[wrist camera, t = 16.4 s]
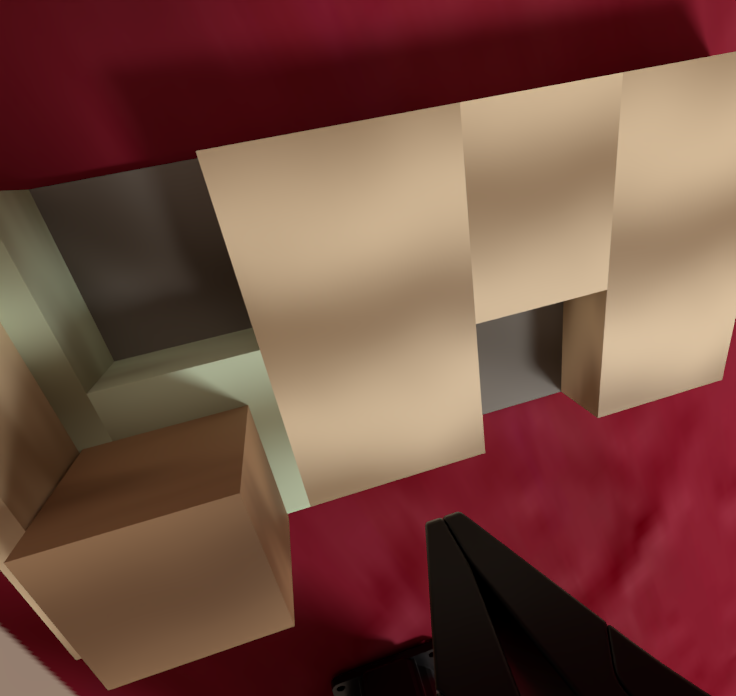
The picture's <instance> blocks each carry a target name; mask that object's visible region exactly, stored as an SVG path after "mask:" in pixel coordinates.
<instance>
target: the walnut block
mask: <svg viewBox="0 0 736 696" xmlns="http://www.w3.org/2000/svg"><path fill="white" fill-rule="evenodd" d="M4 564H5V565H6V567H7V568H8V569H9V570H10V572H11V573H12V574H13V575H14V576H15V578H16V579H17V580H18V581H19V583H20V584H21V585H22V586H23V587H24V589H25V590H26V591H27V592H28V593H29V595H30V596H31V597H32V598H33V600H34V601H35V602H36V603H37V604H38V606H39V607H40V608H41V609H42V611H43V612H44V613H45V614H46V615H47V617H48V618H49V619H50V620H51V622H52V623H53V624H54V625H55V626H56V628H57V629H58V630H59V631H60V632H61V634H62V635H63V636H64V637H65V639H66V640H67V641H68V642H69V643H70V645H71V646H72V647H73V648H74V650H75V651H76V652H77V653H78V654H79V656H80V657H81V658H82V659H83V660H84V662H85V663H86V664H87V665H88V667H89V668H90V669H91V670H92V671H93V673H94V674H95V675H96V676H97V678H98V679H99V680H100V681H101V682H102V684H103V685H104V686H105V687H106V689H107V690H111V689H114V688H117V687H120V686H123V685H126V684H128V683H131V682H134V681H137V680H140V679H143V678H146V677H149V676H152V675H155V674H157V673H160V672H163V671H166V670H169V669H172V668H175V667H178V666H181V665H183V664H186V663H189V662H192V661H195V660H198V659H201V658H204V657H207V656H210V655H212V654H215V653H218V652H221V651H224V650H227V649H230V648H233V647H236V646H238V645H241V644H244V643H247V642H250V641H253V640H256V639H259V638H262V637H265V636H267V635H270V634H273V633H276V632H279V631H282V630H285V629H288V628H291V627H294V626H295V621H294V603H293V585H292V567H291V550H290V532H289V517H288V515H287V512H286V509H285V506H284V503H283V501H282V498H281V495H280V492H279V490H278V487H277V484H276V481H275V478H274V476H273V473H272V470H271V467H270V464H269V462H268V459H267V456H266V453H265V450H264V448H263V445H262V442H261V439H260V437H259V434H258V431H257V428H256V425H255V423H254V420H253V417H252V414H251V411H250V409H249V406H248V405H246V406H243V407H239V408H235V409H231V410H228V411H224V412H220V413H217V414H213V415H209V416H205V417H202V418H198V419H194V420H190V421H187V422H183V423H179V424H176V425H172V426H168V427H164V428H161V429H157V430H153V431H149V432H146V433H142V434H138V435H135V436H131V437H127V438H123V439H120V440H116V441H112V442H108V443H105V444H101V445H97V446H94V447H90V448H86V449H83V450H82V451H81V452H80V454H79V455H78V457H77V458H76V460H75V461H74V462H73V464H72V465H71V467H70V468H69V470H68V471H67V473H66V474H65V475H64V477H63V478H62V480H61V481H60V483H59V484H58V485H57V487H56V488H55V490H54V491H53V493H52V494H51V496H50V497H49V498H48V500H47V501H46V503H45V504H44V506H43V507H42V509H41V510H40V511H39V513H38V514H37V516H36V517H35V519H34V520H33V521H32V523H31V524H30V526H29V527H28V529H27V530H26V532H25V533H24V534H23V536H22V537H21V539H20V540H19V542H18V543H17V544H16V546H15V547H14V549H13V550H12V552H11V553H10V555H9V556H8V557H7V559H6V560H5V562H4Z"/></svg>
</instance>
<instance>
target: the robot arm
mask: <svg viewBox="0 0 736 696" xmlns="http://www.w3.org/2000/svg"><path fill="white" fill-rule="evenodd" d="M425 529H426V545H427V562H428V578H429V594H430V610H431V627H432V642H429V643H426V644H423V645H421V646H418V647H415V648H412V649H410V650H407V651H404V652H401V653H399V654H396V655H393V656H391V657H388V658H385V659H382V660H380V661H377V662H374V663H372V664H369V665H366V666H363V667H361V668H358V669H355V670H353V671H350V672H347V673H344V674H342V675H339V676H337V677H335V678H334V679H333V680H332V681H331V684H332V692H333V695H334V696H711V695H709V694H708V693H706V692H705V691H703V690H702V689H700V688H699V687H697V686H695V685H694V684H692V683H691V682H689V681H688V680H686V679H685V678H683V677H682V676H680V675H679V674H677V673H676V672H674V671H673V670H671V669H670V668H668V667H667V666H665V665H664V664H662V663H661V662H660V661H658V660H657V659H655V658H654V657H653V656H651V655H650V654H649V653H647V652H646V651H644V650H643V649H642V648H640V647H639V646H637V645H636V644H635V643H633V642H632V641H631V640H629V639H628V638H627V637H625V636H624V635H623V634H621V633H620V632H619V631H617V630H616V629H615V628H614V627H612V626H611V625H608V626H607V624H606V622H605V621H604V620H603V619H601V618H600V617H599V616H597V615H596V614H595V613H593V612H592V611H591V610H590V609H588V608H587V607H586V606H584V605H583V604H582V603H580V602H579V601H578V600H576V599H575V598H574V597H572V596H571V595H570V594H568V593H567V592H566V591H564V590H563V589H562V588H560V587H559V586H558V585H557V584H555V583H554V582H553V581H551V580H550V579H549V578H547V577H546V576H545V575H543V574H542V573H541V572H539V571H538V570H537V569H535V568H534V567H533V566H531V565H530V564H529V563H527V562H526V561H525V560H524V559H522V558H521V557H520V556H518V555H517V554H516V553H514V552H513V551H512V550H510V549H509V548H508V547H506V546H505V545H504V544H502V543H501V542H500V541H498V540H497V539H496V538H494V537H493V536H492V535H491V534H489V533H488V532H487V531H485V530H484V529H483V528H481V527H480V526H479V525H477V524H476V523H475V522H473V521H472V520H471V519H469V518H468V517H467V516H465V515H464V514H463V513H461V512H455V513H452V514H449V515H446V516H444V518H443V519H442V518H438V519H435V520H432V521H429V522H427V523H426V525H425Z"/></svg>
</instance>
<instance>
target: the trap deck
mask: <svg viewBox="0 0 736 696" xmlns="http://www.w3.org/2000/svg"><path fill="white" fill-rule="evenodd" d="M196 154H197V157H198V158H196V159H191V160H185V161H180V162H174V163H169V164H164V165H158V166H153V167H148V168H142V169H137V170H132V171H126V172H121V173H116V174H110V175H105V176H99V177H94V178H89V179H83V180H78V181H73V182H67V183H62V184H57V185H51V186H46V187H40V188H35V189H30V190H8V191H0V570H1V571H2V573H3V574H4V575H5V576H6V577H7V578H8V580H9V581H10V582H11V583H12V584H13V586H14V587H15V588H16V589H17V590H18V592H19V593H20V594H21V595H22V596H23V598H24V599H25V600H26V601H27V602H28V604H29V605H30V606H31V607H32V608H33V610H34V611H35V612H36V613H37V614H38V616H39V617H40V618H41V619H42V620H43V621H44V623H45V624H46V625H47V626H48V627H49V629H50V630H51V631H52V632H53V633H54V635H55V636H56V637H57V638H58V639H59V641H60V642H61V643H62V644H63V645H64V647H65V648H66V649H67V650H68V651H69V653H70V654H71V655H72V656H73V657H74V659H75V660H78V659H81V657H80V656H79V654H78V653H77V652H76V651H75V650H74V648H73V647H72V646H71V645H70V643H69V642H68V641H67V640H66V639H65V637H64V636H63V635H62V634H61V632H60V631H59V630H58V629H57V628H56V626H55V625H54V624H53V623H52V622H51V620H50V619H49V618H48V617H47V615H46V614H45V613H44V612H43V611H42V609H41V608H40V607H39V606H38V604H37V603H36V602H35V601H34V600H33V598H32V597H31V596H30V595H29V593H28V592H27V591H26V590H25V589H24V587H23V586H22V585H21V584H20V583H19V581H18V580H17V579H16V578H15V576H14V575H13V574H12V573H11V572H10V570H9V569H8V568H7V567H6V565H5V564H4V562H5V560H6V559H7V557H8V556H9V555H10V553H11V552H12V550H13V549H14V547H15V546H16V544H17V543H18V542H19V540H20V539H21V537H22V536H23V534H24V533H25V532H26V530H27V529H28V527H29V526H30V524H31V523H32V521H33V520H34V519H35V517H36V516H37V514H38V513H39V511H40V510H41V509H42V507H43V506H44V504H45V503H46V501H47V500H48V498H49V497H50V496H51V494H52V493H53V491H54V490H55V488H56V487H57V485H58V484H59V483H60V481H61V480H62V478H63V477H64V475H65V474H66V473H67V471H68V470H69V468H70V467H71V465H72V464H73V462H74V461H75V460H76V458H77V457H78V455H79V454H80V452H81V451H82V450H83V449H86V448H90V447H94V446H97V445H101V444H105V443H108V442H112V441H116V440H120V439H123V438H127V437H131V436H135V435H138V434H142V433H146V432H149V431H153V430H157V429H161V428H164V427H168V426H172V425H176V424H179V423H183V422H187V421H190V420H194V419H198V418H202V417H205V416H209V415H213V414H217V413H220V412H224V411H228V410H231V409H235V408H239V407H243V406H246V405H248V406H249V409H250V411H251V414H252V417H253V420H254V423H255V425H256V428H257V431H258V434H259V437H260V439H261V442H262V445H263V448H264V450H265V453H266V456H267V459H268V462H269V464H270V467H271V470H272V473H273V476H274V478H275V481H276V484H277V487H278V490H279V492H280V495H281V498H282V501H283V503H284V506H285V509H286V512H287V514H288V513H292V512H295V511H298V510H301V509H305V508H308V507H311V506H314V505H317V504H321V503H324V502H327V501H330V500H334V499H337V498H340V497H343V496H347V495H350V494H353V493H356V492H360V491H363V490H366V489H369V488H373V487H376V486H379V485H382V484H386V483H389V482H392V481H395V480H398V479H402V478H405V477H408V476H411V475H415V474H418V473H421V472H424V471H428V470H431V469H434V468H437V467H441V466H444V465H447V464H450V463H454V462H457V461H460V460H463V459H466V458H470V457H473V456H476V455H479V454H483V453H485V445H484V431H483V417H482V415H483V414H486V413H490V412H493V411H496V410H500V409H503V408H506V407H510V406H513V405H517V404H520V403H523V402H527V401H530V400H534V399H537V398H540V397H544V396H547V395H551V394H554V393H557V392H563V393H564V394H565V395H567V396H568V397H570V398H571V399H572V400H574V401H575V402H576V403H578V404H579V405H581V406H582V407H583V408H585V409H586V410H588V411H589V412H590V413H592V414H593V415H594V416H596V417H597V418H599V417H603V416H606V415H609V414H612V413H615V412H619V411H622V410H625V409H628V408H632V407H635V406H638V405H641V404H645V403H648V402H651V401H654V400H658V399H661V398H664V397H667V396H671V395H674V394H677V393H680V392H684V391H687V390H690V389H693V388H696V387H700V386H703V385H706V384H709V383H713V382H716V381H719V380H722V377H723V372H724V368H725V363H726V359H727V354H728V349H729V345H730V340H731V336H732V331H733V327H734V322H735V317H736V52H731V53H725V54H720V55H715V56H709V57H704V58H698V59H693V60H687V61H682V62H677V63H671V64H666V65H660V66H655V67H649V68H644V69H639V70H633V71H628V72H622V73H617V74H611V75H606V76H601V77H595V78H590V79H584V80H579V81H573V82H568V83H563V84H557V85H552V86H546V87H541V88H535V89H530V90H525V91H519V92H514V93H508V94H503V95H497V96H492V97H487V98H481V99H476V100H470V101H465V102H459V103H454V104H449V105H443V106H438V107H432V108H427V109H421V110H416V111H411V112H405V113H400V114H394V115H389V116H383V117H378V118H373V119H367V120H362V121H356V122H351V123H345V124H340V125H335V126H329V127H324V128H318V129H313V130H307V131H302V132H297V133H291V134H286V135H280V136H275V137H269V138H264V139H259V140H253V141H248V142H242V143H237V144H231V145H226V146H221V147H215V148H210V149H204V150H199V151H196Z"/></svg>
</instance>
